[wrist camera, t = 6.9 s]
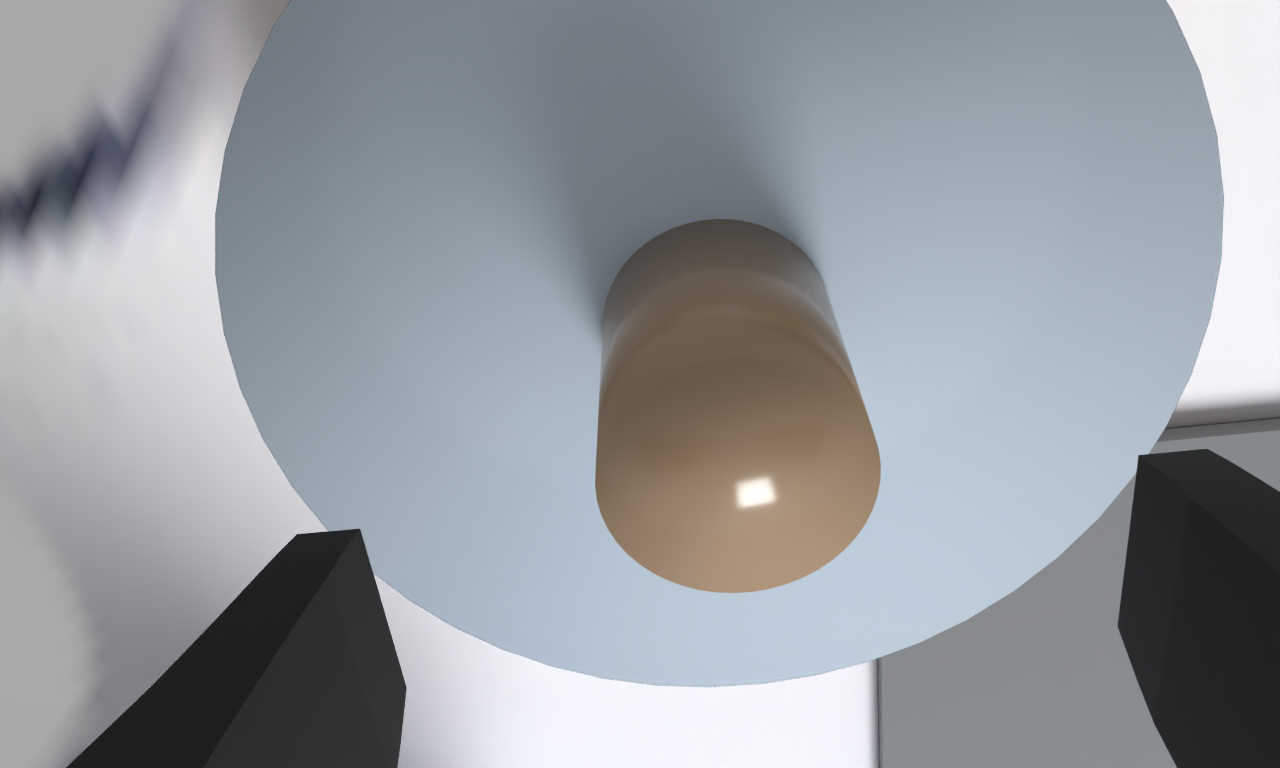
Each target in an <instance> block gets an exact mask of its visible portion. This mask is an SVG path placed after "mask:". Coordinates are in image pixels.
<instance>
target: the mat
mask: <svg viewBox="0 0 1280 768" xmlns="http://www.w3.org/2000/svg"><path fill="white" fill-rule="evenodd" d="M1198 449H1209V450H1211V451H1213V452H1214V453H1216V454H1218V455H1220V456H1222V457H1223V458H1225V459H1227V460H1229V461H1230V462H1232V463H1234V464H1235V465H1237V466H1239V467H1241V468H1242V469H1244V470H1245V471H1247V472H1249V473H1250V474H1252V475H1254V476H1255V477H1257V478H1259V479H1260V480H1262V481H1263V482H1265V483H1267V484H1268V485H1270V486H1271V487H1273V488H1275V489H1276V490H1278V491H1280V418H1277V419H1266V420H1255V421H1245V422H1234V423H1224V424H1213V425H1203V426H1192V427H1182V428H1171V429H1164V431H1163V432H1162V434H1161V435H1160V437H1159V438H1158V440H1157V442H1156V443H1155V445H1154V446H1153V448H1152V449H1151V451H1150V452H1149V454H1155V453H1166V452H1177V451H1187V450H1198ZM1135 480H1136V474H1135V475H1134V476H1133V478H1132V479H1131V480H1130V481H1129V482H1128V484H1127V485H1126V486H1125V487H1124V488H1123V490H1122V491H1121V492H1120V493H1119V494H1118V496H1117V497H1116V498H1115V499H1114V500H1113V502H1112V503H1111V504H1110V505H1109V506H1108V508H1107V509H1106V510H1105V511H1104V513H1103V514H1102V515H1101V516H1100V517H1099V518H1098V519H1097V520H1096V521H1095V522H1094V523H1093V524H1092V525H1091V526H1090V527H1089V528H1088V529H1087V530H1086V531H1085V532H1084V533H1083V534H1082V535H1081V536H1080V537H1079V538H1078V539H1076V540H1075V541H1074V542H1073V543H1072V544H1071V545H1070V546H1069V547H1068V548H1067V549H1066V550H1065V551H1064V552H1063V553H1062V554H1061V555H1060V556H1059V557H1057V558H1056V559H1055V560H1054V561H1052V562H1051V563H1050V564H1048V565H1047V566H1046V567H1044V568H1043V569H1042V570H1041V571H1039V572H1038V573H1037V574H1035V575H1034V576H1033V577H1032V578H1030V579H1029V580H1028V581H1026V582H1025V583H1024V584H1022V585H1021V586H1020V587H1019V588H1017V589H1016V590H1015V591H1013V592H1011V593H1010V594H1008V595H1006V596H1005V597H1003V598H1002V599H1000V600H998V601H997V602H995V603H994V604H992V605H990V606H989V607H987V608H985V609H984V610H982V611H981V612H979V613H977V614H976V615H974V616H972V617H971V618H969V619H967V620H965V621H963V622H961V623H959V624H957V625H955V626H953V627H951V628H949V629H947V630H945V631H943V632H941V633H938V634H936V635H934V636H932V637H930V638H928V639H926V640H924V641H922V642H920V643H918V644H915V645H912V646H909V647H907V648H904V649H901V650H899V651H896V652H893V653H890V654H888V655H885V656H882V657H879V658H878V669H879V754H880V768H1177V767H1176V765H1175V763H1174V761H1173V759H1172V757H1171V755H1170V753H1169V752H1168V750H1167V748H1166V746H1165V744H1164V742H1163V740H1162V738H1161V736H1160V734H1159V732H1158V730H1157V728H1156V726H1155V725H1154V722H1153V720H1152V717H1151V714H1150V712H1149V709H1148V707H1147V704H1146V702H1145V699H1144V697H1143V694H1142V692H1141V689H1140V687H1139V684H1138V682H1137V679H1136V676H1135V673H1134V671H1133V668H1132V665H1131V662H1130V660H1129V657H1128V654H1127V651H1126V649H1125V646H1124V643H1123V640H1122V637H1121V635H1120V632H1119V629H1118V618H1119V609H1120V601H1121V593H1122V585H1123V577H1124V569H1125V561H1126V553H1127V545H1128V536H1129V528H1130V520H1131V512H1132V504H1133V496H1134V488H1135Z"/></svg>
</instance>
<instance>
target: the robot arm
mask: <svg viewBox="0 0 1280 768" xmlns="http://www.w3.org/2000/svg"><path fill="white" fill-rule="evenodd" d="M1118 629H1119V632H1120V635H1121V637H1122V640H1123V643H1124V646H1125V649H1126V651H1127V654H1128V657H1129V660H1130V662H1131V665H1132V668H1133V671H1134V673H1135V676H1136V679H1137V682H1138V684H1139V687H1140V689H1141V692H1142V694H1143V697H1144V699H1145V702H1146V704H1147V707H1148V709H1149V712H1150V714H1151V717H1152V720H1153V722H1154V725H1155V726H1156V728H1157V730H1158V732H1159V734H1160V736H1161V738H1162V740H1163V742H1164V744H1165V746H1166V748H1167V750H1168V752H1169V753H1170V755H1171V757H1172V759H1173V761H1174V763H1175V765H1176V767H1177V768H1280V491H1278V490H1276V489H1275V488H1273V487H1271V486H1270V485H1268V484H1267V483H1265V482H1263V481H1262V480H1260V479H1259V478H1257V477H1255V476H1254V475H1252V474H1250V473H1249V472H1247V471H1245V470H1244V469H1242V468H1241V467H1239V466H1237V465H1235V464H1234V463H1232V462H1230V461H1229V460H1227V459H1225V458H1223V457H1222V456H1220V455H1218V454H1216V453H1214V452H1213V451H1211V450H1209V449H1198V450H1187V451H1177V452H1166V453H1155V454H1145V455H1138V464H1137V472H1136V480H1135V488H1134V496H1133V504H1132V512H1131V520H1130V528H1129V536H1128V545H1127V553H1126V561H1125V569H1124V577H1123V585H1122V593H1121V601H1120V609H1119V618H1118ZM405 697H406V685H405V681H404V678H403V674H402V671H401V667H400V664H399V660H398V657H397V654H396V650H395V647H394V643H393V640H392V636H391V633H390V629H389V626H388V623H387V619H386V616H385V612H384V609H383V605H382V602H381V598H380V595H379V592H378V588H377V585H376V581H375V578H374V574H373V571H372V567H371V564H370V561H369V557H368V554H367V550H366V547H365V543H364V540H363V536H362V533H361V530H360V529H349V530H339V531H328V532H317V533H307V534H297V535H296V536H295V537H294V538H293V539H292V540H291V541H290V542H289V543H288V544H287V545H286V546H285V547H284V548H283V549H282V550H281V551H280V552H279V553H278V554H277V555H276V556H275V557H274V558H273V559H272V560H271V561H270V562H269V563H268V564H267V565H266V567H265V568H264V569H263V570H262V571H261V572H260V573H259V574H258V575H257V576H256V577H255V578H254V579H253V580H252V581H251V583H250V584H249V585H248V586H247V587H246V588H245V589H244V590H243V591H242V592H241V593H240V594H239V595H238V596H237V598H236V599H235V600H234V601H233V602H232V603H231V604H230V605H229V606H228V607H227V608H226V609H225V610H224V611H223V613H222V614H221V615H220V616H219V617H218V618H217V619H216V620H215V621H214V622H213V623H212V624H211V625H210V626H209V627H208V628H207V629H206V630H205V631H204V633H203V634H202V635H201V636H200V637H199V638H198V639H197V640H196V641H195V642H194V643H193V644H192V645H191V646H190V647H189V648H188V649H187V650H186V651H185V652H184V653H183V654H182V655H181V656H180V657H179V659H178V660H177V661H176V662H175V663H174V664H173V665H172V666H171V667H170V668H169V669H168V670H167V671H166V672H165V673H164V674H163V675H162V676H161V677H160V678H159V679H158V680H157V681H156V682H155V683H154V684H153V685H152V686H151V687H150V688H149V689H148V690H147V691H146V692H145V693H144V694H143V695H142V696H141V697H140V698H139V699H138V700H137V701H136V702H135V703H134V704H133V705H132V706H130V707H129V708H128V709H127V710H126V711H125V712H124V713H123V714H122V715H121V716H120V717H119V718H118V719H117V720H116V721H115V722H114V723H113V724H112V725H111V726H109V727H108V728H107V729H106V730H105V731H104V732H103V733H102V734H101V735H100V736H99V737H98V738H97V739H96V740H95V741H94V742H93V743H92V744H91V745H90V746H89V747H87V748H86V749H85V750H84V751H83V752H82V753H81V754H80V755H79V756H78V757H77V758H76V759H75V760H74V761H73V762H72V763H71V764H70V765H69V766H68V767H66V768H397V766H398V758H399V751H400V743H401V734H402V725H403V716H404V706H405Z"/></svg>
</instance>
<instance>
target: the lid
mask: <svg viewBox="0 0 1280 768" xmlns="http://www.w3.org/2000/svg"><path fill="white" fill-rule="evenodd" d="M1223 206H1224V194H1223V185H1222V176H1221V166H1220V157H1219V148H1218V139H1217V133H1216V129H1215V125H1214V122H1213V118H1212V114H1211V110H1210V107H1209V103H1208V99H1207V96H1206V92H1205V88H1204V85H1203V81H1202V77H1201V73H1200V71H1199V68H1198V66H1197V64H1196V62H1195V59H1194V57H1193V55H1192V53H1191V51H1190V48H1189V46H1188V44H1187V42H1186V39H1185V37H1184V35H1183V33H1182V30H1181V28H1180V26H1179V24H1178V22H1177V19H1176V17H1175V15H1174V13H1173V11H1172V9H1171V8H1170V6H1169V5H1168V3H1167V1H1166V0H291V1H290V3H289V4H288V6H287V7H286V9H285V10H284V12H283V13H282V15H281V16H280V18H279V19H278V20H277V22H276V23H275V25H274V26H273V29H272V31H271V33H270V35H269V37H268V39H267V41H266V43H265V45H264V47H263V49H262V51H261V54H260V56H259V58H258V60H257V62H256V64H255V66H254V68H253V70H252V72H251V74H250V76H249V79H248V81H247V83H246V85H245V87H244V90H243V93H242V96H241V99H240V103H239V106H238V109H237V112H236V116H235V119H234V122H233V126H232V129H231V132H230V135H229V139H228V142H227V145H226V148H225V153H224V159H223V166H222V173H221V179H220V186H219V193H218V200H217V206H216V213H215V275H216V282H217V289H218V296H219V303H220V309H221V316H222V323H223V330H224V335H225V338H226V342H227V345H228V349H229V352H230V355H231V359H232V362H233V366H234V369H235V372H236V376H237V379H238V383H239V386H240V389H241V391H242V394H243V396H244V398H245V400H246V402H247V405H248V407H249V409H250V411H251V414H252V416H253V418H254V420H255V423H256V425H257V427H258V429H259V431H260V434H261V436H262V438H263V440H264V442H265V443H266V445H267V447H268V448H269V450H270V452H271V453H272V455H273V456H274V458H275V460H276V461H277V463H278V464H279V466H280V468H281V469H282V471H283V473H284V474H285V476H286V477H287V479H288V481H289V482H290V484H291V485H292V487H293V488H294V490H295V491H296V492H297V493H298V495H299V496H300V497H301V498H302V499H303V501H304V502H305V503H306V504H307V506H308V507H309V508H310V509H311V511H312V512H313V513H314V514H315V516H316V517H317V518H318V519H319V520H320V522H321V523H322V524H323V525H324V527H325V528H326V529H327V530H328V531H339V530H349V529H360V530H361V533H362V536H363V540H364V543H365V547H366V550H367V554H368V557H369V561H370V564H371V567H372V571H373V573H374V574H375V575H377V576H378V577H379V578H381V579H382V580H383V581H384V582H386V583H387V584H388V585H390V586H391V587H392V588H394V589H395V590H396V591H398V592H399V593H400V594H401V595H403V596H404V597H405V598H407V599H408V600H410V601H411V602H413V603H415V604H416V605H418V606H420V607H421V608H423V609H425V610H426V611H428V612H430V613H431V614H433V615H435V616H436V617H438V618H440V619H441V620H443V621H445V622H446V623H448V624H450V625H451V626H453V627H455V628H457V629H459V630H461V631H463V632H466V633H468V634H470V635H472V636H474V637H476V638H479V639H481V640H483V641H485V642H487V643H489V644H491V645H494V646H496V647H498V648H500V649H502V650H505V651H508V652H511V653H514V654H517V655H520V656H523V657H526V658H529V659H532V660H534V661H537V662H540V663H543V664H546V665H549V666H552V667H556V668H561V669H565V670H569V671H573V672H578V673H582V674H586V675H591V676H595V677H599V678H603V679H611V680H619V681H626V682H634V683H641V684H649V685H658V686H688V687H721V686H736V685H752V684H765V683H771V682H777V681H784V680H790V679H796V678H802V677H809V676H815V675H819V674H823V673H827V672H830V671H834V670H838V669H842V668H846V667H850V666H854V665H857V664H861V663H865V662H869V661H871V660H874V659H877V658H879V657H882V656H885V655H888V654H890V653H893V652H896V651H899V650H901V649H904V648H907V647H909V646H912V645H915V644H918V643H920V642H922V641H924V640H926V639H928V638H930V637H932V636H934V635H936V634H938V633H941V632H943V631H945V630H947V629H949V628H951V627H953V626H955V625H957V624H959V623H961V622H963V621H965V620H967V619H969V618H971V617H972V616H974V615H976V614H977V613H979V612H981V611H982V610H984V609H985V608H987V607H989V606H990V605H992V604H994V603H995V602H997V601H998V600H1000V599H1002V598H1003V597H1005V596H1006V595H1008V594H1010V593H1011V592H1013V591H1015V590H1016V589H1017V588H1019V587H1020V586H1021V585H1022V584H1024V583H1025V582H1026V581H1028V580H1029V579H1030V578H1032V577H1033V576H1034V575H1035V574H1037V573H1038V572H1039V571H1041V570H1042V569H1043V568H1044V567H1046V566H1047V565H1048V564H1050V563H1051V562H1052V561H1054V560H1055V559H1056V558H1057V557H1059V556H1060V555H1061V554H1062V553H1063V552H1064V551H1065V550H1066V549H1067V548H1068V547H1069V546H1070V545H1071V544H1072V543H1073V542H1074V541H1075V540H1076V539H1078V538H1079V537H1080V536H1081V535H1082V534H1083V533H1084V532H1085V531H1086V530H1087V529H1088V528H1089V527H1090V526H1091V525H1092V524H1093V523H1094V522H1095V521H1096V520H1097V519H1098V518H1099V517H1100V516H1101V515H1102V514H1103V513H1104V511H1105V510H1106V509H1107V508H1108V506H1109V505H1110V504H1111V503H1112V502H1113V500H1114V499H1115V498H1116V497H1117V496H1118V494H1119V493H1120V492H1121V491H1122V490H1123V488H1124V487H1125V486H1126V485H1127V484H1128V482H1129V481H1130V480H1131V479H1132V478H1133V476H1134V475H1135V474H1136V472H1137V464H1138V455H1145V454H1149V452H1150V451H1151V449H1152V448H1153V446H1154V445H1155V443H1156V442H1157V440H1158V438H1159V437H1160V435H1161V434H1162V432H1163V431H1164V429H1165V428H1166V426H1167V424H1168V422H1169V420H1170V418H1171V416H1172V414H1173V412H1174V410H1175V408H1176V405H1177V403H1178V401H1179V399H1180V397H1181V395H1182V393H1183V391H1184V389H1185V387H1186V385H1187V383H1188V381H1189V379H1190V377H1191V374H1192V372H1193V369H1194V366H1195V363H1196V360H1197V357H1198V354H1199V351H1200V348H1201V345H1202V342H1203V339H1204V336H1205V333H1206V330H1207V327H1208V324H1209V321H1210V318H1211V312H1212V307H1213V301H1214V296H1215V290H1216V285H1217V280H1218V274H1219V269H1220V263H1221V257H1222V232H1223Z"/></svg>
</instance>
